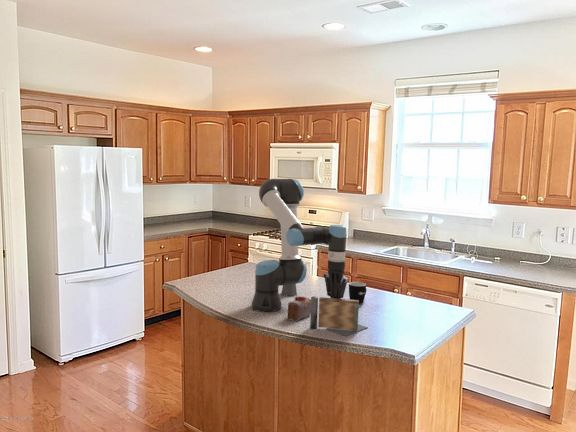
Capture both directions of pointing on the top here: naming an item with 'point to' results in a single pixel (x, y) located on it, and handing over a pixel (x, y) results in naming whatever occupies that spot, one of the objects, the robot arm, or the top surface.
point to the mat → (347, 332)
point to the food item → (299, 308)
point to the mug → (357, 291)
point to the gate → (338, 313)
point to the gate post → (314, 312)
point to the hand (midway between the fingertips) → (334, 312)
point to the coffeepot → (289, 290)
